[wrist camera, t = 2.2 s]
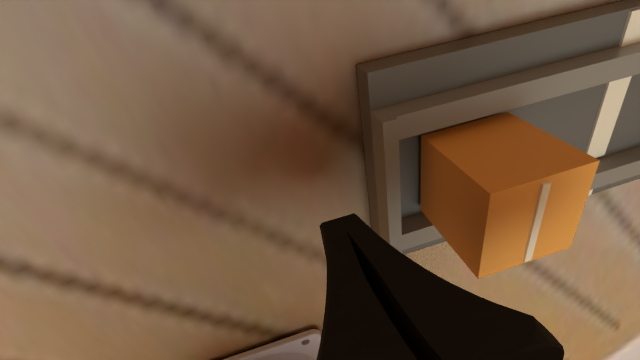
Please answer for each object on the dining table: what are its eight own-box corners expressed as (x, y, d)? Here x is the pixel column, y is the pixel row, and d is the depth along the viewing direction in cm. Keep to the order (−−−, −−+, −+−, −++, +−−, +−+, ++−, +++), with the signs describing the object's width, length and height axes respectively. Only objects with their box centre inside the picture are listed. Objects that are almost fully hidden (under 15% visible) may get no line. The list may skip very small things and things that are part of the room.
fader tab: (420, 209, 17) (479, 280, 13) (421, 135, 15) (492, 196, 11) (495, 187, 18) (572, 248, 14) (507, 111, 15) (602, 161, 12)
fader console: (373, 246, 20) (391, 278, 18) (355, 64, 14) (380, 82, 12) (633, 164, 22) (675, 185, 20) (708, -21, 16) (776, -17, 14)
